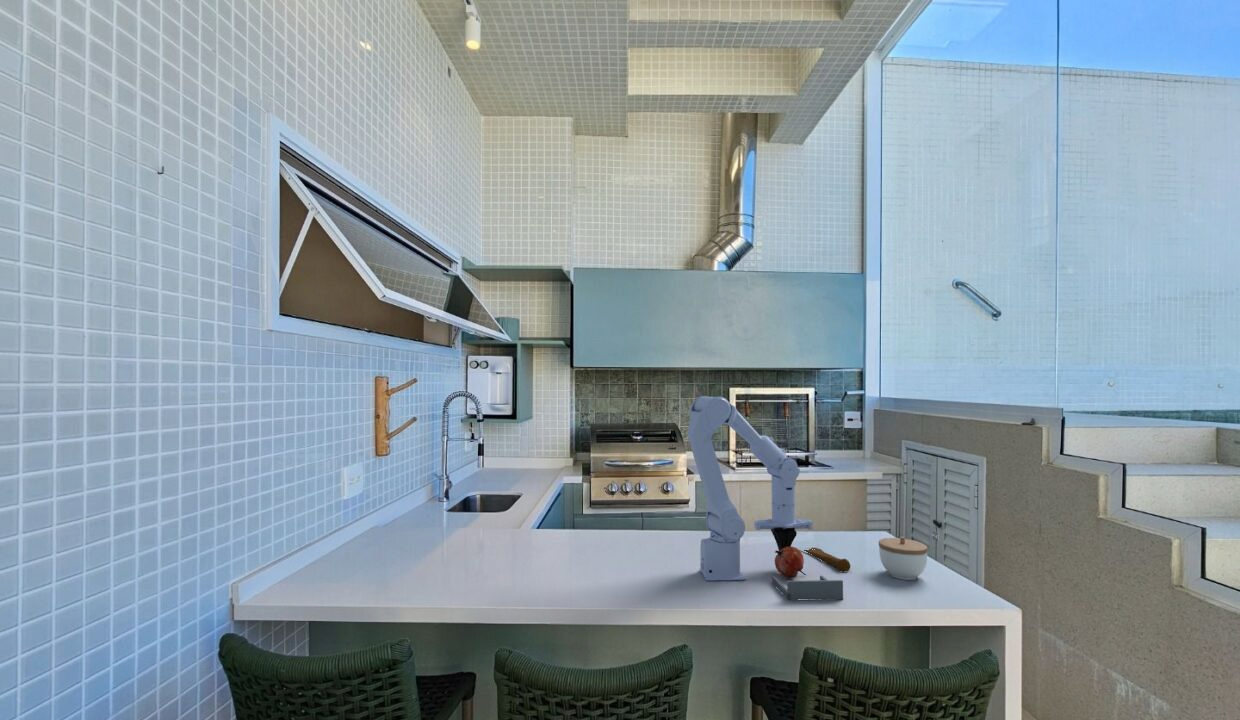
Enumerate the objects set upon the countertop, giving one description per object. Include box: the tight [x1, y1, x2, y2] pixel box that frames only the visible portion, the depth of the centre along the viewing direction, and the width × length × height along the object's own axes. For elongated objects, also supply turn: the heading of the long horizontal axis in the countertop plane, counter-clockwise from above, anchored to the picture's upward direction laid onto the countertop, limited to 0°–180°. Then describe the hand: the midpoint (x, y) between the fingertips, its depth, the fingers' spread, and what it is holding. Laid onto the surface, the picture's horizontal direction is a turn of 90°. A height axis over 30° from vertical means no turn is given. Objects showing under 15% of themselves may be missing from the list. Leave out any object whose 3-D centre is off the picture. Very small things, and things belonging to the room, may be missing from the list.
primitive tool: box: [804, 547, 851, 573], centre depth 147 cm, size 19×6×4 cm, turn 12°
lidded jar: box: [878, 536, 928, 581], centre depth 136 cm, size 11×11×9 cm
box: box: [771, 575, 844, 601], centre depth 125 cm, size 12×11×4 cm
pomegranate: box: [774, 546, 807, 579], centre depth 135 cm, size 7×7×10 cm
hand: (783, 557), depth 140 cm, fingers closed, pressing on pomegranate
